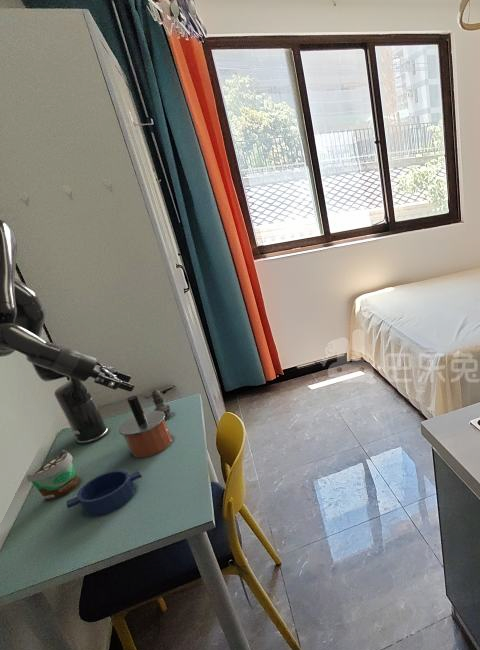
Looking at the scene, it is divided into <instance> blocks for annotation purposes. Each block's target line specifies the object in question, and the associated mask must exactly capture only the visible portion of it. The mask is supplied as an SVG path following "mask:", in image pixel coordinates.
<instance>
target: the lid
mask: <svg viewBox="0 0 480 650" xmlns="http://www.w3.org/2000/svg"><path fill="white" fill-rule="evenodd" d="M126 401H127V403H128V405H129V407H130V408H129V409H130V410H131V412H132V414H133V416H132V417H130V418H128V419H126V420H125V421H124V422H122V423H121V424H120V426H119V427H118V432H119V434H120V435H122V436H124V435H126V436H130V435H137V434H141V433H144V432H147V431H149V430H151V429H153V428H155V427H157V426H158V425H159V424H161V423H162V422H163V421H164V419H165V414H164V413H163V412H162V411H154V410H150V411H144V409H143V408H142V405H141V403H140V400H139V398H138V395H131V396H129V397H128V398H126Z"/></svg>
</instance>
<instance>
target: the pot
mask: <svg viewBox="0 0 480 650" xmlns="http://www.w3.org/2000/svg"><path fill="white" fill-rule="evenodd" d="M123 437H124V439H125V441H126V444H127V446H128V448H129V450H130V453H131V455H132V456H133V457H134V458H135V457H136V458H147V457H151V456H154V455H157V454H158V453H160V452H162V451H164V450H166V448H168V447H169V446H170V445H171V443H172V441H173V437H172V435H171V432H170V429H169V427H168V425H167V422H166V420H164V421H163V422H162V423H161V424H159V425H158V426H157V427H155V428H153V429H151V430H149V431H147V432H144V433H141V434H137V435H130V436H126V435H123Z"/></svg>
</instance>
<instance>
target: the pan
mask: <svg viewBox="0 0 480 650" xmlns="http://www.w3.org/2000/svg"><path fill="white" fill-rule="evenodd" d="M141 478H142V473H141V471H140V470H137V471H135V472H133V473H129V472H128V471H126V470H111V471H107V472H104V473H102V474H100V475H98V476H95V477H93V478H92V479H90V480H89V481H87V482H85V484H84V485H83V486H82V487H80V489H79V490H78V491H77V493H76V496H75V497H73V498H71V499H68V500H66V508H67V509H70V508H72V507H75V506H78V505H80V507H81V508H82V510H83V512H85V514H86V515H88V516H91V517H97V516H98V517H99V516H102V515H107V514H109V513H111V512H112V513H113V512H114V511H116V510H118V509H119V508H121V507H123V506H124V505H126V504H127V503H128V502H129V501H130V500H131V499H132V498H133V497H134V495H135V494H136V487H135V484H134V481H136V480H138V479H141Z"/></svg>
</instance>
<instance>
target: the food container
mask: <svg viewBox="0 0 480 650" xmlns="http://www.w3.org/2000/svg"><path fill="white" fill-rule="evenodd" d="M26 476H27V477H26V479H27V482H28V483H32V484H33V486H34V488H35V489H37V491H38V492H39V494H41V496H42V498H44V500H45V501H52V500H55V499H58V498H62V497H64V496H65V495H68V494H70V493H71V492H72V491H74V490H75V489H76V488H77V487H78V485H79V483H80V481H79V478H78V475H77V473H76V470H75V467H74V465H73V455H72V454H71V453H70V452H68V451H67V450H65V449H61V453H60V454H59V455H58V456H56V457H55V458H53V459H51V460H49V461H47V462H46V463H44V464H43V465H42V466H41V467H40V468H39V469H38V470H36V471H35V472H34V473H32V474H26Z"/></svg>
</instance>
